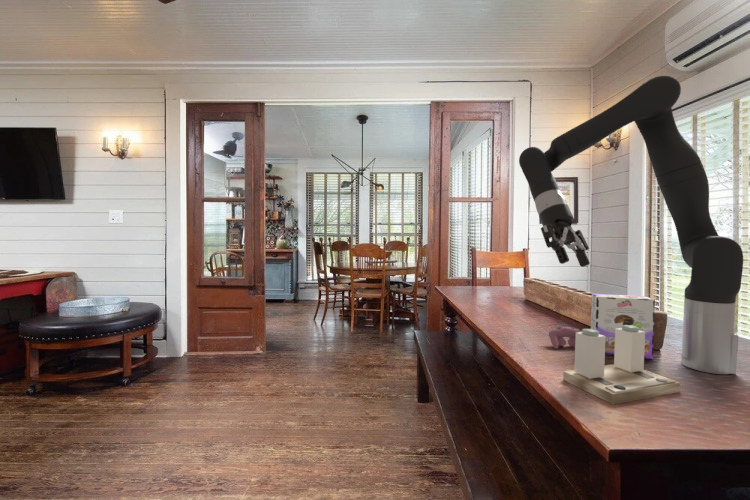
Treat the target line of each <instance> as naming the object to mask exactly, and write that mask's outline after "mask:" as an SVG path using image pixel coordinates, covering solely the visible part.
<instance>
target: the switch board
mask: <svg viewBox="0 0 750 500" xmlns="http://www.w3.org/2000/svg"><path fill="white" fill-rule="evenodd" d="M563 381H566V382H567V383H569V384H572V385H573V386H575V387H577V388H579V389H581V390H584V391H586V392H588V393H589V394H592V395H593V396H595V397H598V398H600V399H601V400H602V401H603V400H604V402H608V403H609V404H612V405H616V404H622V403H627V402H628V403H629V402H633V401H638V400H639V401H640V400H643V399H648V398H655V397H659V396H665V394H666V395H670V394H676V393H680V392H681V382H679V381H677V380H675V379H674V380H673V379H671V378H669V377H665V376H663V375H659V374H657V373H654V372H652V371H649V370H646V369H644V371H637V372H628V371H626V370H623V369H620V368H618V367H615V366H614V363H613V364H612V363H611V364H606V365H605V364H604V377H598V378H592V379H589V378H587V377H585V376H583V375H581V374H578V373H576V372H574V369H570V370H563Z"/></svg>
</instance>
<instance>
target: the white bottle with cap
mask: <svg viewBox="0 0 750 500" xmlns="http://www.w3.org/2000/svg"><path fill="white" fill-rule="evenodd" d="M605 337H606V336H603V335H600V334H599V331H597V330H593V329H591V328H582V329H581V332H576V337H575V347H574V366H573V367H574V369H573V370H574V372H576V373H578V374H581V375H583V376H585V377H587V378H589V379H592V378H598V377H604V365H605V363H606V361H605V360H606V359H605V358H606V354H605Z"/></svg>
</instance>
